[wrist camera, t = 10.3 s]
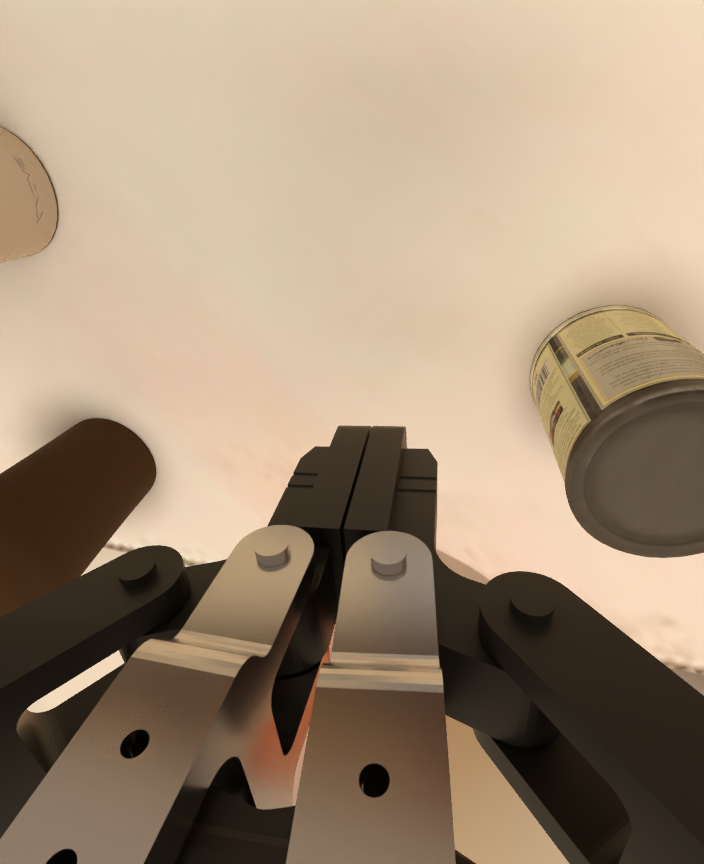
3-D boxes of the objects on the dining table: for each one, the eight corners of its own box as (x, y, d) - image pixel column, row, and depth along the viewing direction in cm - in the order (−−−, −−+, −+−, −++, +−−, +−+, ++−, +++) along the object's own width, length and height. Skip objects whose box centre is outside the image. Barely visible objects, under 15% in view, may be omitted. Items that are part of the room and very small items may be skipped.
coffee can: (691, 408, 36) (811, 534, 24) (549, 448, 40) (592, 575, 28) (667, 278, 33) (795, 352, 20) (511, 335, 36) (542, 427, 24)
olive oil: (172, 440, 46) (-66, 686, 25) (152, 516, 52) (-56, 771, 30) (66, 394, 46) (-269, 604, 24) (58, 475, 51) (-222, 706, 30)
